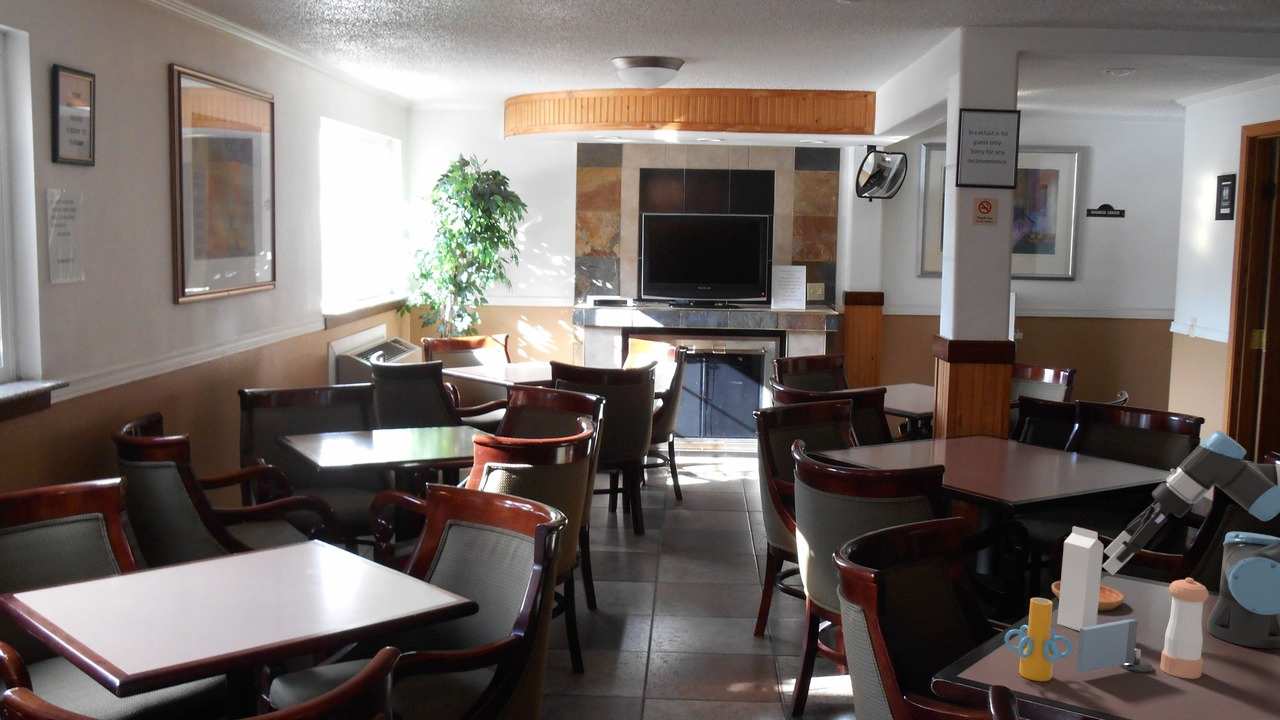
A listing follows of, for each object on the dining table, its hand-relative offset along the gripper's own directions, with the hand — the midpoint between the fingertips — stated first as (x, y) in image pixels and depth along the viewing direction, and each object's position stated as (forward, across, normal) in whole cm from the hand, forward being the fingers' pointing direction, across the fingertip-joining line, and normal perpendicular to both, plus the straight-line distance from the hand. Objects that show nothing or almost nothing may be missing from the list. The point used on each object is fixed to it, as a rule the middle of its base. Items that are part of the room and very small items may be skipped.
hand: (1107, 563), depth 231 cm
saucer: (+15, -21, +6) cm, 26 cm away
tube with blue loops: (+19, +35, 0) cm, 40 cm away
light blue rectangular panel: (+11, +27, +9) cm, 30 cm away
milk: (+16, -1, +5) cm, 16 cm away
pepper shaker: (+4, +17, +21) cm, 28 cm away
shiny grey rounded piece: (+9, +20, +14) cm, 26 cm away
